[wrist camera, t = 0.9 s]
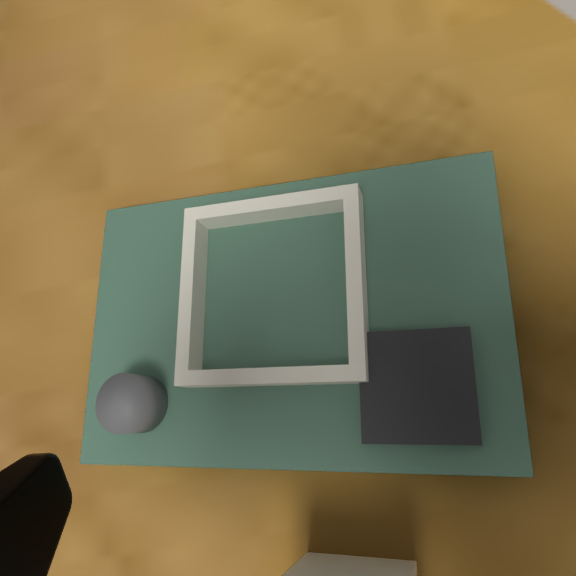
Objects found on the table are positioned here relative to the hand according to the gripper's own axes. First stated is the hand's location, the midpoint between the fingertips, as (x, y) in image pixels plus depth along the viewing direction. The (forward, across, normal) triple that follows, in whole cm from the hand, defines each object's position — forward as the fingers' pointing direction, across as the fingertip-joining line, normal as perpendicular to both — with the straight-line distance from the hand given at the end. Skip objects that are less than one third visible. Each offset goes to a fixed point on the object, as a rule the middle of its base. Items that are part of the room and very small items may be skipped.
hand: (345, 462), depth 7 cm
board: (+13, +2, +4) cm, 14 cm away
